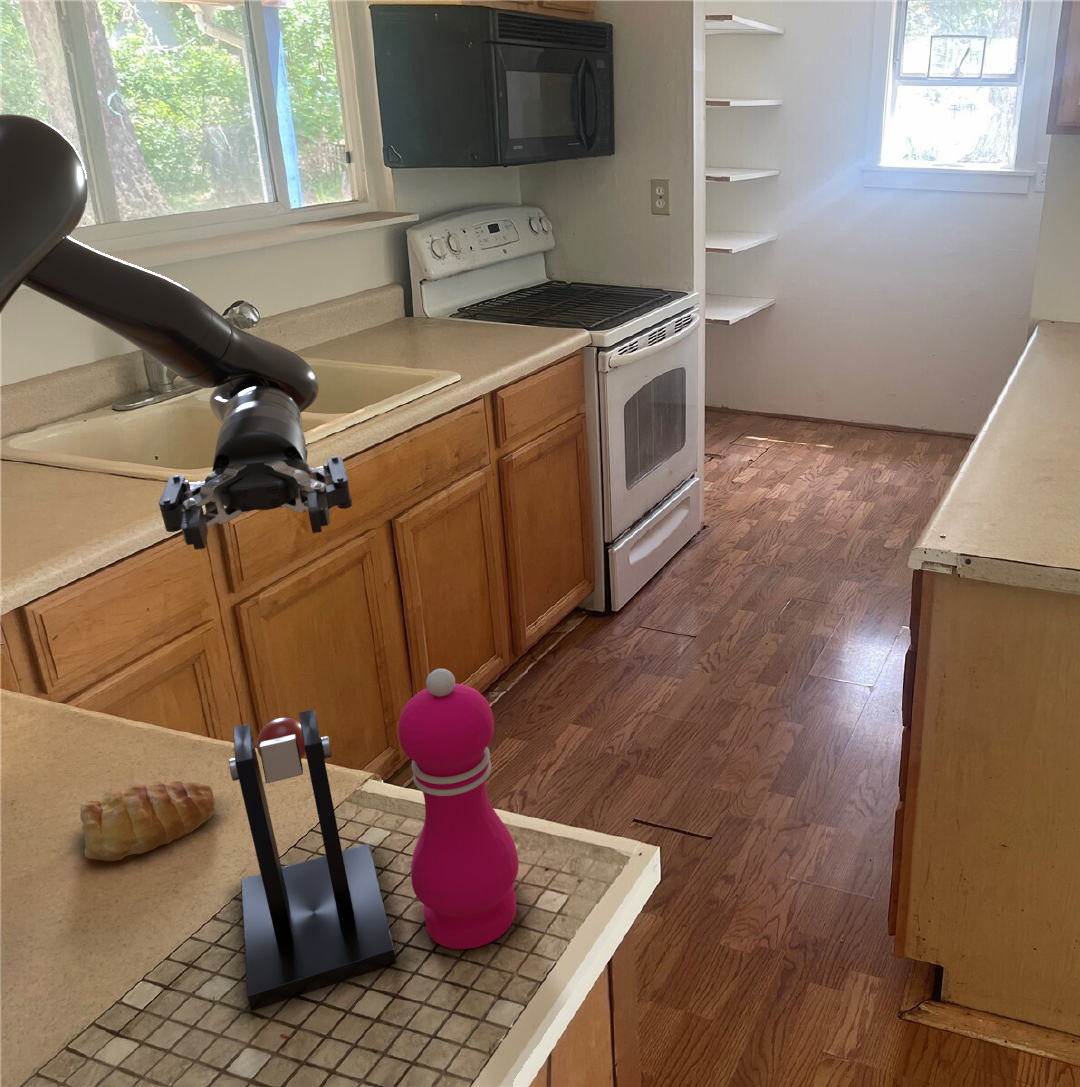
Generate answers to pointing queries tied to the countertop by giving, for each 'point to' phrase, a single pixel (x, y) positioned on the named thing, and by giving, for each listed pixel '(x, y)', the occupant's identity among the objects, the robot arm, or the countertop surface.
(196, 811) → the pastry
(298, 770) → the lever
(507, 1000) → the countertop surface
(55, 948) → the countertop surface
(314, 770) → the bracket
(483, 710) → the pepper mill
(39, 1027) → the countertop surface
